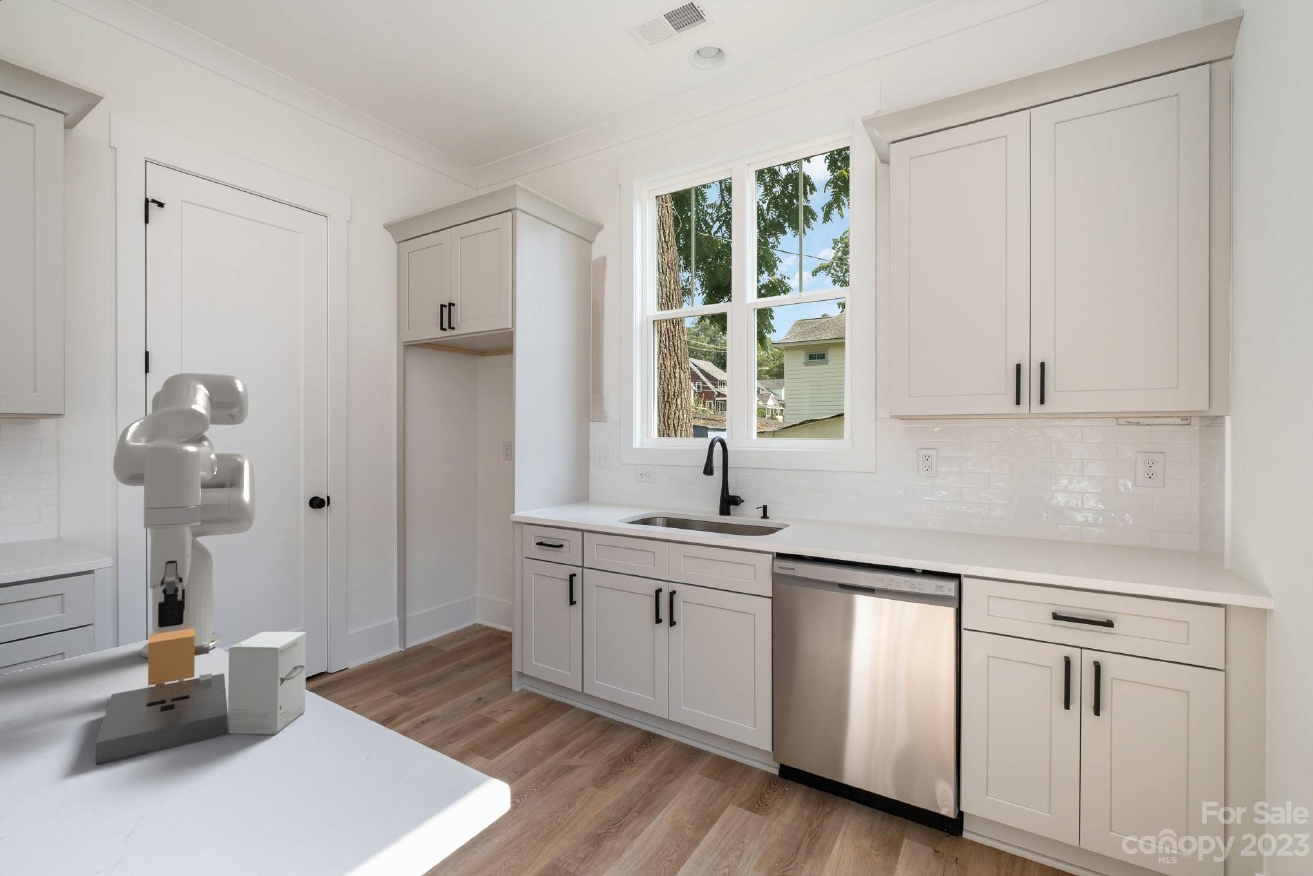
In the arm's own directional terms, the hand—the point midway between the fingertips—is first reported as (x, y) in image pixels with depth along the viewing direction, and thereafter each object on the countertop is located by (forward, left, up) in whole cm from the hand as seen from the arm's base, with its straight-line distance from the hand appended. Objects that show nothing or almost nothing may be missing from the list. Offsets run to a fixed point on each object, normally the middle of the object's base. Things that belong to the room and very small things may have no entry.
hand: (172, 619), depth 102 cm
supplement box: (+23, +12, -12) cm, 29 cm away
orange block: (-1, 0, -12) cm, 12 cm away
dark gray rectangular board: (+15, 0, -12) cm, 19 cm away
